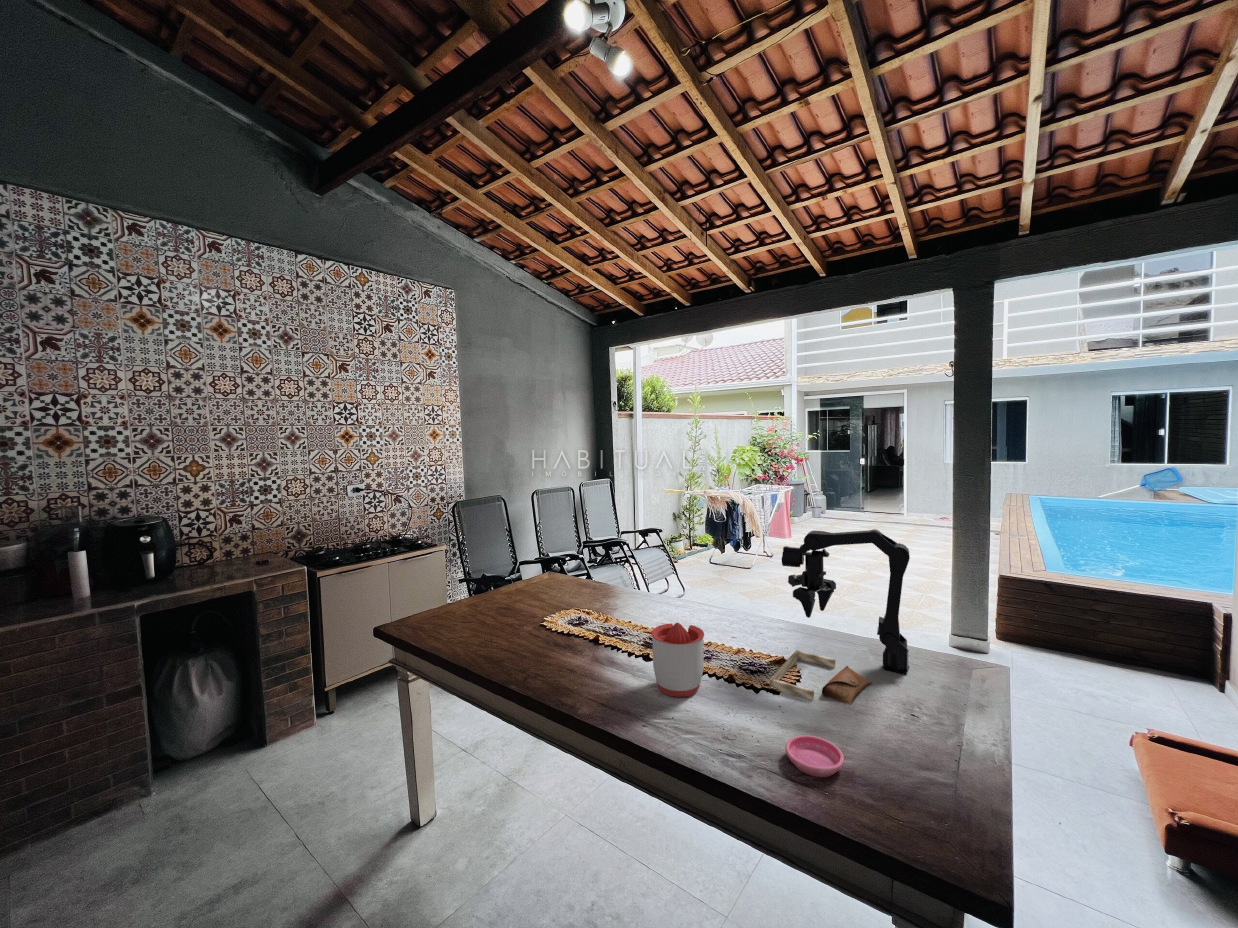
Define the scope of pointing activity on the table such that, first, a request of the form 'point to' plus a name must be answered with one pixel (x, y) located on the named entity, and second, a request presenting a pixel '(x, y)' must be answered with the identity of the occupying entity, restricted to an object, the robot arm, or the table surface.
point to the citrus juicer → (678, 658)
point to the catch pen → (789, 663)
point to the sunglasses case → (845, 686)
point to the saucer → (814, 755)
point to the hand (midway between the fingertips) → (815, 613)
